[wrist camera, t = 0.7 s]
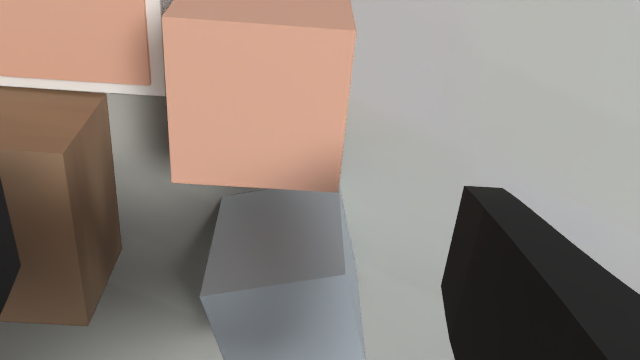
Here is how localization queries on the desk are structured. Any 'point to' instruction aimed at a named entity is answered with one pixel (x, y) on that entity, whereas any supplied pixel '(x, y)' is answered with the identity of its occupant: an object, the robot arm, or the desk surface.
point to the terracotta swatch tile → (83, 45)
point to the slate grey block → (283, 278)
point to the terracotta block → (258, 91)
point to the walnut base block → (58, 202)
